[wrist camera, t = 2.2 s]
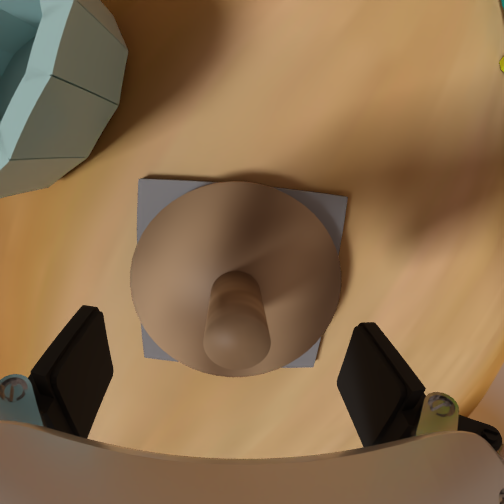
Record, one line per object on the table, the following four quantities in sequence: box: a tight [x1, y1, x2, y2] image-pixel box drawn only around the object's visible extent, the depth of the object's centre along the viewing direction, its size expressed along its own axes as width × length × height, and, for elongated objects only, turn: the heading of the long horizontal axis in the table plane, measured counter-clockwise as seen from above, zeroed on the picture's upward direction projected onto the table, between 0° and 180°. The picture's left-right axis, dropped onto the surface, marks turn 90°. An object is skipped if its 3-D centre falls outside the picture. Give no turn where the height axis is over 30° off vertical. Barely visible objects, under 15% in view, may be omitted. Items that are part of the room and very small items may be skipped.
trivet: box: [137, 178, 348, 368], centre depth 18 cm, size 12×12×1 cm
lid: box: [130, 181, 341, 377], centre depth 15 cm, size 12×12×6 cm
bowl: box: [0, 0, 128, 198], centre depth 10 cm, size 13×13×8 cm
